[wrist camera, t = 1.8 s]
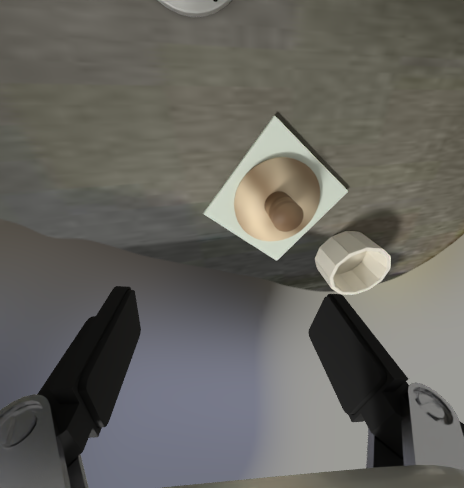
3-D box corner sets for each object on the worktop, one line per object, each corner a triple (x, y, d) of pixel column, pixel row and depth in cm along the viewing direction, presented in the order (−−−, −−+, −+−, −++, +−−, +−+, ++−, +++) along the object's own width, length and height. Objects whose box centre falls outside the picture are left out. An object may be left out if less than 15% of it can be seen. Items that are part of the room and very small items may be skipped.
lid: (274, 135, 25) (290, 138, 20) (334, 193, 30) (358, 207, 25) (217, 211, 30) (217, 229, 25) (276, 251, 35) (287, 272, 30)
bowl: (348, 221, 34) (370, 236, 29) (378, 248, 38) (401, 266, 33) (305, 260, 38) (318, 279, 33) (336, 281, 41) (351, 301, 37)
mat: (273, 115, 25) (274, 115, 24) (346, 190, 31) (348, 191, 30) (203, 212, 31) (203, 213, 30) (275, 258, 37) (276, 260, 36)
